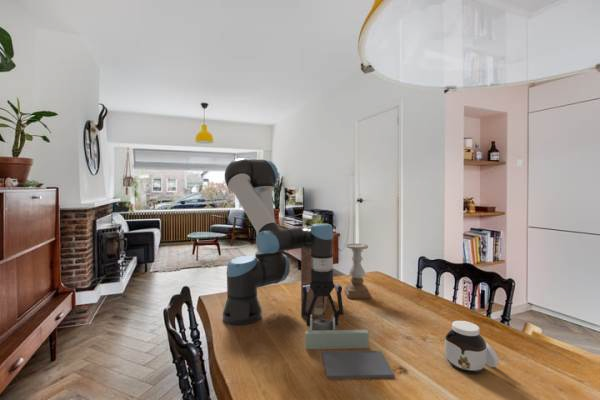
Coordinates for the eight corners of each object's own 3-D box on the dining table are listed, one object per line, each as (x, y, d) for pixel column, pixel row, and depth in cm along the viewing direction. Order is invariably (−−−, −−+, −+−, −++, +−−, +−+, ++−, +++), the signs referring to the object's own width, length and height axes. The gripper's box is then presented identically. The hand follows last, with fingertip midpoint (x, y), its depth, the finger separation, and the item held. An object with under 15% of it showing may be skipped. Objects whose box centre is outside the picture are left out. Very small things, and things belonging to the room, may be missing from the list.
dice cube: (332, 335, 103) (332, 321, 103) (324, 341, 99) (324, 326, 99) (320, 331, 106) (320, 317, 106) (312, 336, 102) (312, 322, 102)
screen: (305, 349, 94) (305, 333, 94) (305, 345, 96) (305, 330, 96) (368, 348, 95) (368, 332, 94) (367, 344, 97) (367, 329, 96)
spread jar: (440, 362, 87) (441, 323, 86) (458, 350, 94) (459, 313, 93) (486, 383, 77) (487, 339, 77) (502, 367, 84) (503, 327, 84)
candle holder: (371, 298, 138) (371, 247, 138) (347, 298, 138) (347, 247, 138) (366, 290, 149) (366, 243, 148) (344, 290, 149) (344, 243, 149)
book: (308, 295, 143) (308, 232, 143) (327, 295, 142) (327, 233, 141) (301, 317, 118) (301, 241, 117) (324, 318, 117) (324, 242, 116)
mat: (327, 378, 79) (327, 375, 79) (322, 354, 91) (322, 351, 91) (394, 377, 80) (394, 374, 80) (380, 353, 92) (380, 350, 92)
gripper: (292, 272, 99) (293, 340, 99) (353, 271, 99) (353, 339, 100) (292, 266, 106) (293, 330, 107) (348, 265, 107) (348, 329, 107)
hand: (322, 334), depth 103 cm, fingers closed on dice cube, 7 cm apart
